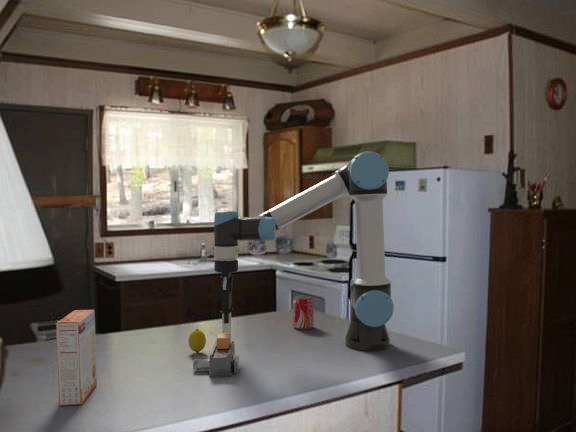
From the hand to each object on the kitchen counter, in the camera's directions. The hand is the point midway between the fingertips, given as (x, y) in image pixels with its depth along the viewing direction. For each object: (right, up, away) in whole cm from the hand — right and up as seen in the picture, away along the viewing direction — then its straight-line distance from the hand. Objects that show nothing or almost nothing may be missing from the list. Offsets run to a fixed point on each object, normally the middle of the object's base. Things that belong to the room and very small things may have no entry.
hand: (226, 332), depth 169 cm
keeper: (0, -2, -9) cm, 9 cm away
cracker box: (-34, -9, -33) cm, 49 cm away
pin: (-1, -8, -14) cm, 16 cm away
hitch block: (0, -8, -13) cm, 15 cm away
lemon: (-10, -8, +3) cm, 13 cm away
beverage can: (+25, -6, +36) cm, 44 cm away
